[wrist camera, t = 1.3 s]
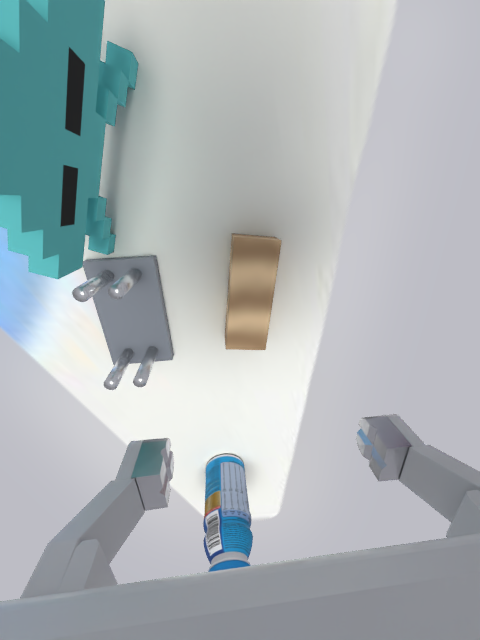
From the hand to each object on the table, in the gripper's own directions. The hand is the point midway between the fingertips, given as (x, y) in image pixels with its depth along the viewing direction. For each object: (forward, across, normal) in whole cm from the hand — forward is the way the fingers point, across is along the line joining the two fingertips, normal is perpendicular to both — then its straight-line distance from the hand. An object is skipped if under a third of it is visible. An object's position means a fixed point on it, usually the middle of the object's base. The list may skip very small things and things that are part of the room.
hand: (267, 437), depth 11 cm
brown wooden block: (+29, -3, +2) cm, 29 cm away
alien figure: (+28, +13, -14) cm, 34 cm away
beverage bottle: (+30, +3, +41) cm, 51 cm away
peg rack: (+28, +14, +4) cm, 32 cm away
